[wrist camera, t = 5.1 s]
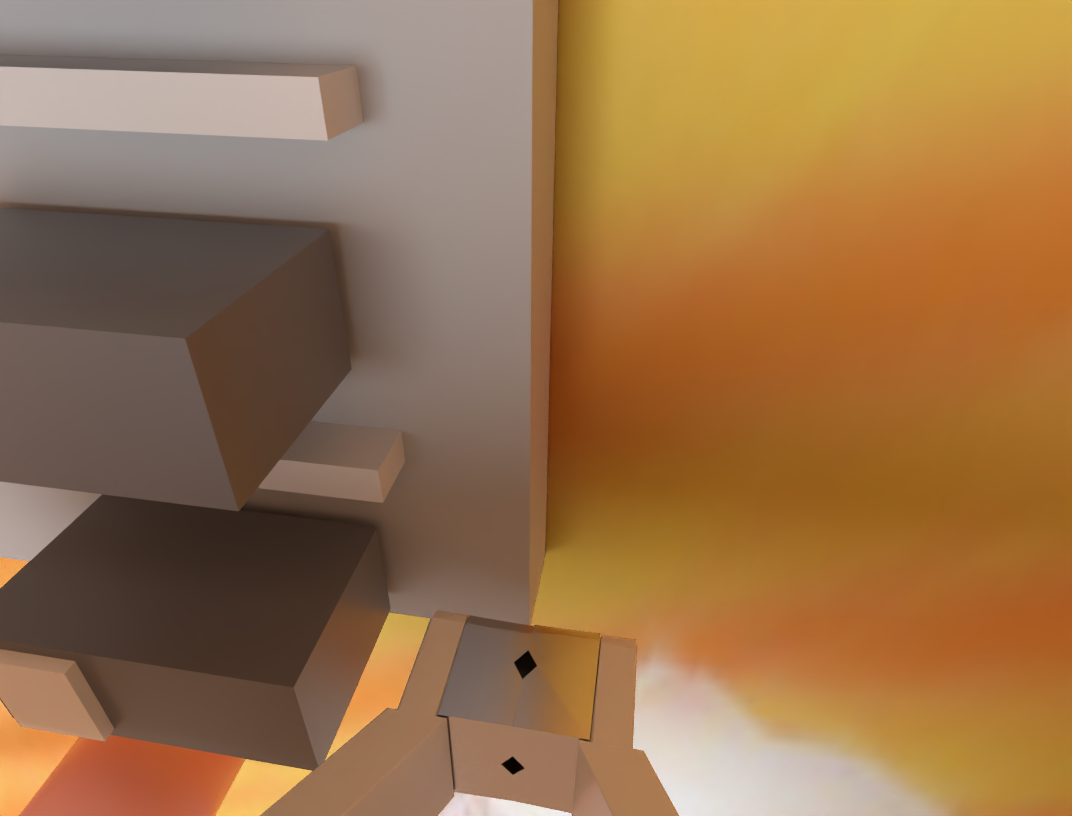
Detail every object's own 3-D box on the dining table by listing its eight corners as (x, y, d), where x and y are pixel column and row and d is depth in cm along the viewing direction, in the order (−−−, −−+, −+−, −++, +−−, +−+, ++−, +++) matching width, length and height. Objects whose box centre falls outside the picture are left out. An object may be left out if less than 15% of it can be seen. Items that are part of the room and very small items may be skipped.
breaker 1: (329, 229, 8) (170, 348, 6) (351, 368, 9) (227, 524, 7) (-25, 205, 9) (-315, 305, 6) (34, 339, 10) (-191, 471, 7)
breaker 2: (377, 526, 11) (285, 701, 8) (390, 608, 12) (314, 785, 9) (103, 492, 12) (-61, 644, 9) (140, 573, 13) (2, 729, 10)
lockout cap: (257, 656, 18) (100, 919, 13) (290, 752, 20) (169, 1003, 15) (102, 632, 18) (-106, 875, 14) (152, 728, 21) (-7, 962, 16)
